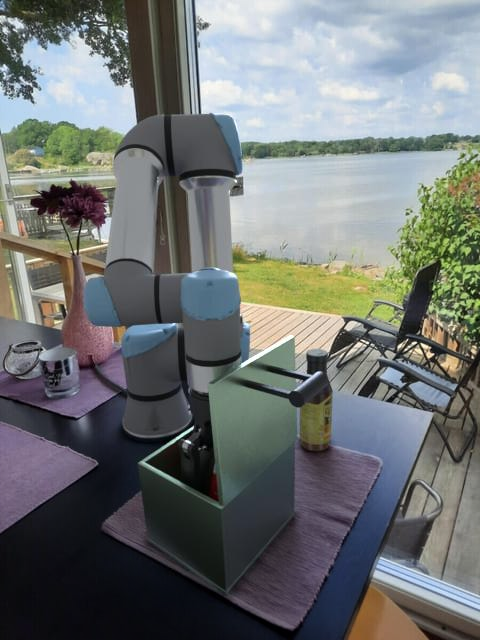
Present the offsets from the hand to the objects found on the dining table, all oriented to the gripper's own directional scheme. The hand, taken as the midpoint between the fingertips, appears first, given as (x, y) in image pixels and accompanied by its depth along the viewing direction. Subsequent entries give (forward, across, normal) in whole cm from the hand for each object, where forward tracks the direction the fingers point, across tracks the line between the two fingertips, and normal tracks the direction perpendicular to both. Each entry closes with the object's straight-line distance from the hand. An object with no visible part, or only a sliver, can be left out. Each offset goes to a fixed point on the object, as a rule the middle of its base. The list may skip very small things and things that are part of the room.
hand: (222, 517), depth 68 cm
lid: (-20, 0, -7) cm, 22 cm away
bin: (+2, 0, 0) cm, 2 cm away
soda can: (+2, 0, 0) cm, 2 cm away
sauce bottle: (+2, +28, -1) cm, 28 cm away
